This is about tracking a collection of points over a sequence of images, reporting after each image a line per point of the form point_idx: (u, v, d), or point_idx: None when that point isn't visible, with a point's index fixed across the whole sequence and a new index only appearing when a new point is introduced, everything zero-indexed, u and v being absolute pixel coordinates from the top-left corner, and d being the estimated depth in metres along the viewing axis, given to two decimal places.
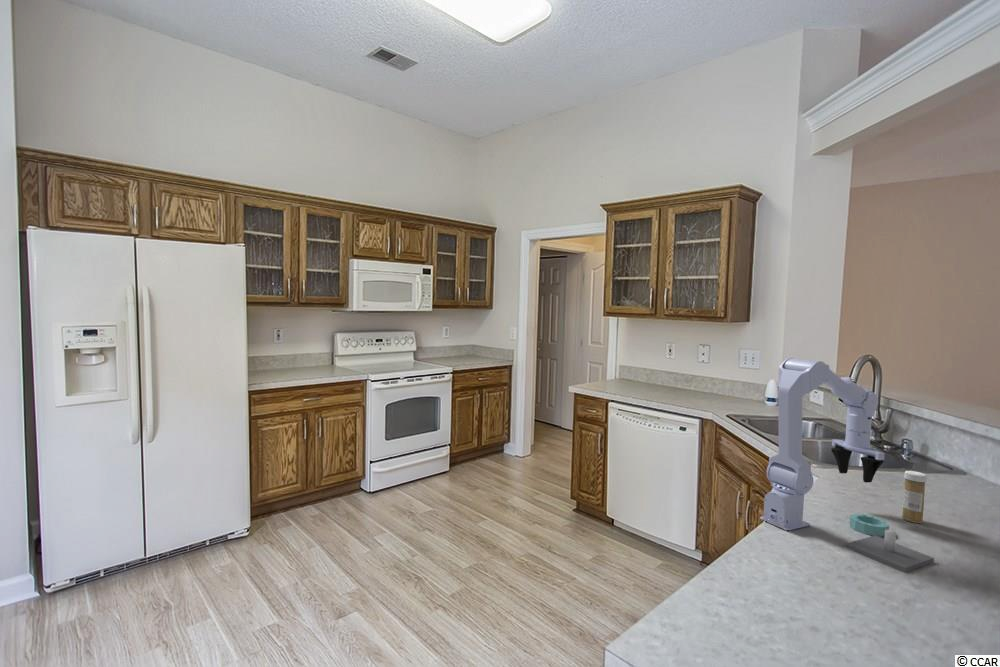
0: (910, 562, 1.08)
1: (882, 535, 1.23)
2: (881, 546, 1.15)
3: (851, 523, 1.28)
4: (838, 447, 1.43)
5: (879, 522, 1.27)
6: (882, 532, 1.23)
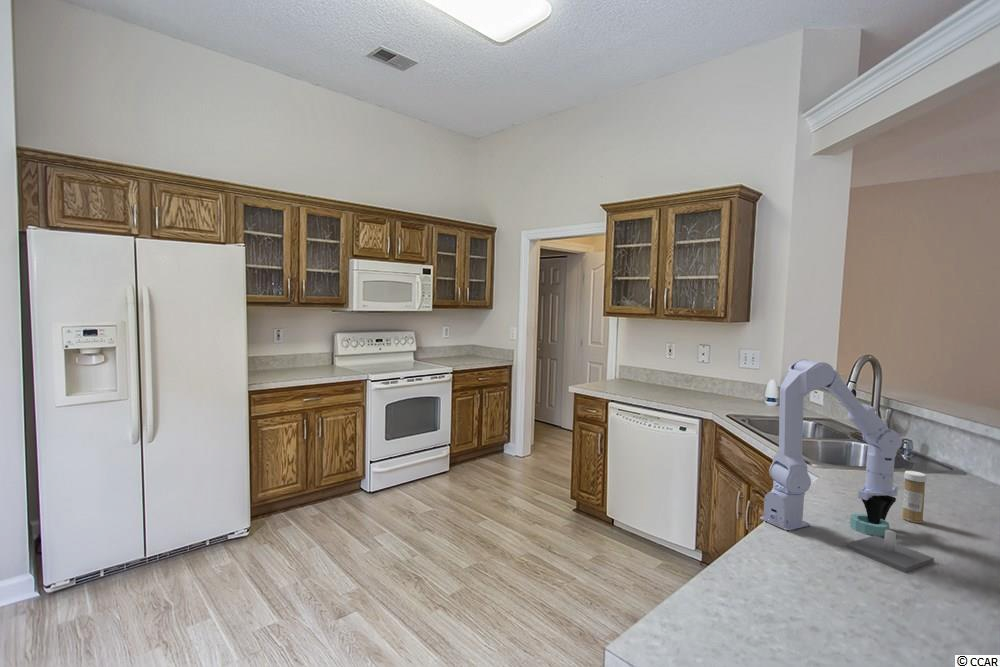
0: (910, 562, 1.08)
1: (882, 535, 1.23)
2: (881, 546, 1.15)
3: (851, 523, 1.28)
4: None
5: (879, 522, 1.27)
6: (882, 532, 1.23)
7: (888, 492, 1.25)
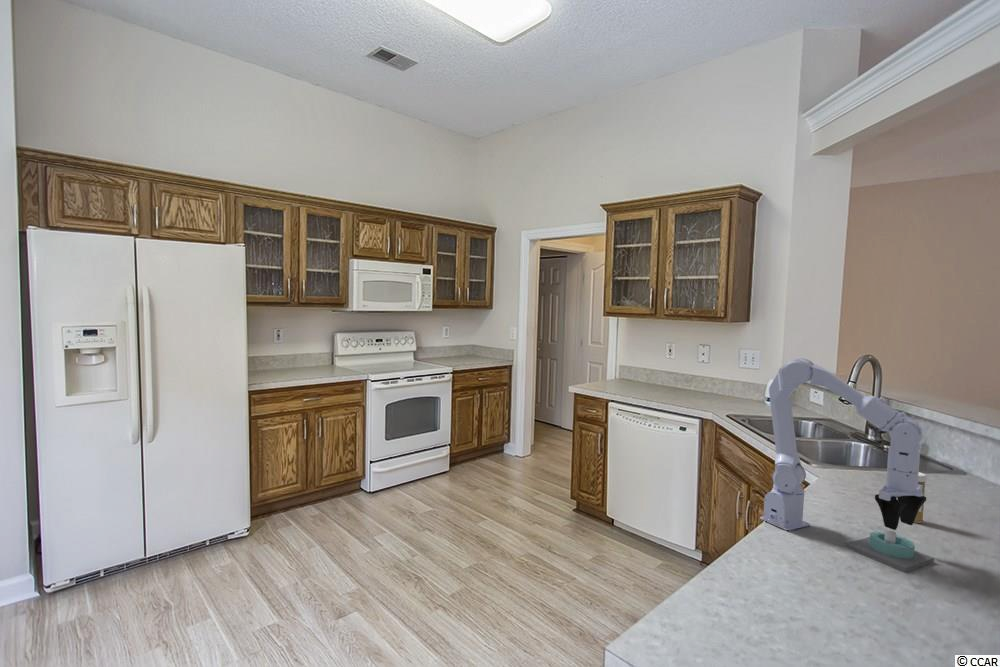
0: (910, 562, 1.08)
1: (907, 557, 1.10)
2: None
3: (871, 542, 1.15)
4: None
5: (903, 541, 1.13)
6: (907, 553, 1.10)
7: (913, 492, 1.11)
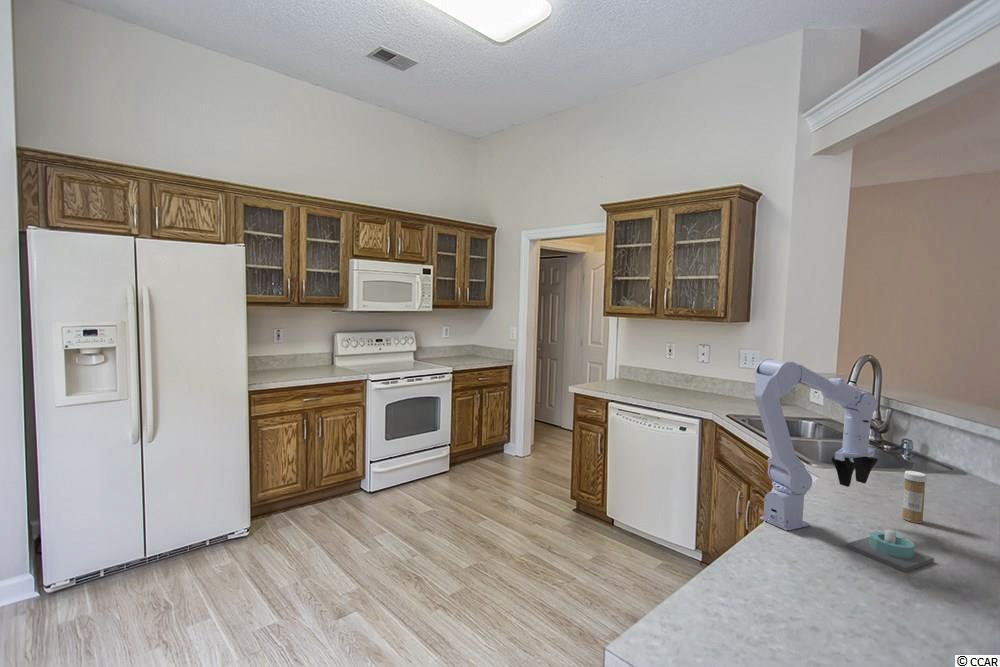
0: (910, 562, 1.08)
1: (907, 557, 1.10)
2: None
3: (871, 542, 1.15)
4: None
5: (903, 541, 1.13)
6: (907, 553, 1.10)
7: (864, 453, 1.28)
